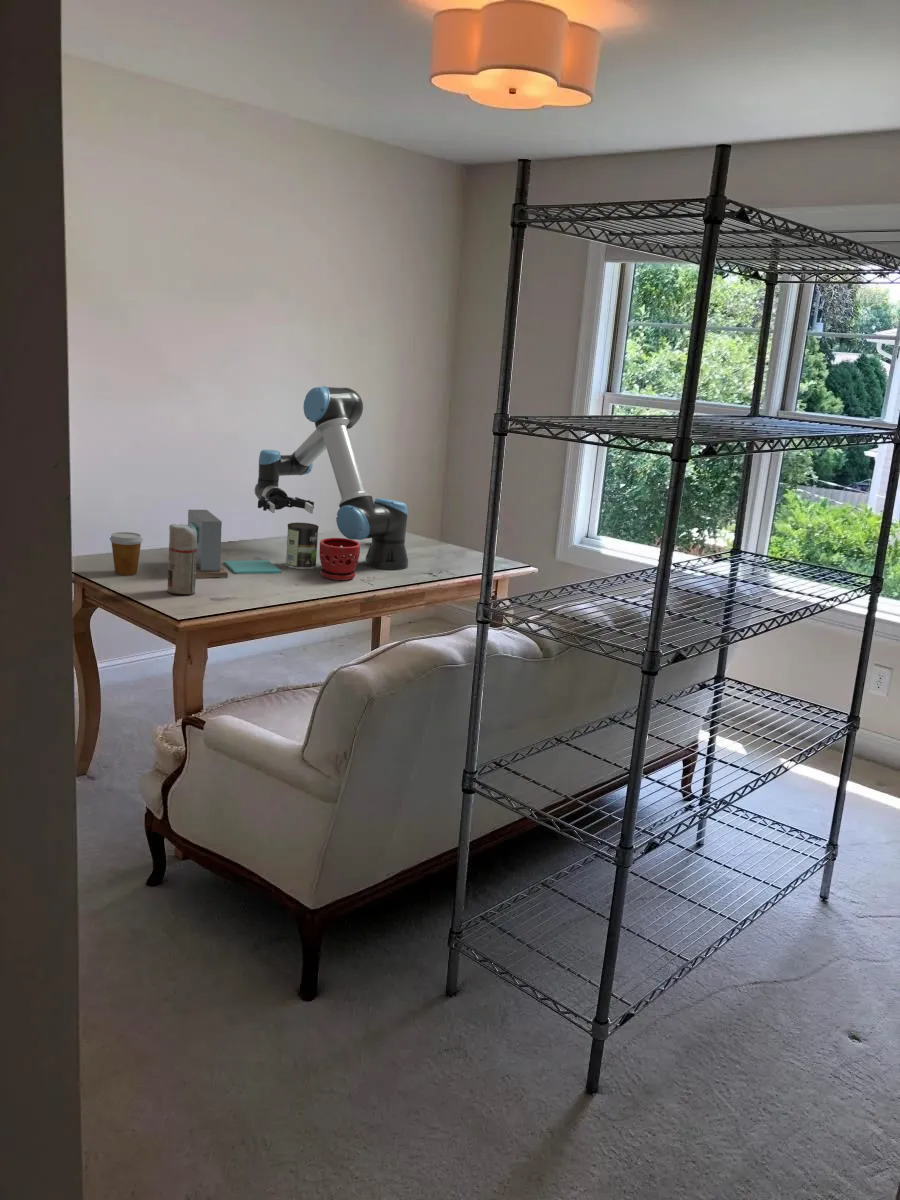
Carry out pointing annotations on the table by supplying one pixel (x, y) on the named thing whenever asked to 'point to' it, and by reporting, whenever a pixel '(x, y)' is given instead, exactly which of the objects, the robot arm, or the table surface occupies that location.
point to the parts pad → (252, 566)
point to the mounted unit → (207, 543)
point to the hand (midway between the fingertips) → (293, 509)
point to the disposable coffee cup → (126, 552)
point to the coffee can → (302, 545)
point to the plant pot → (339, 558)
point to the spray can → (182, 559)
